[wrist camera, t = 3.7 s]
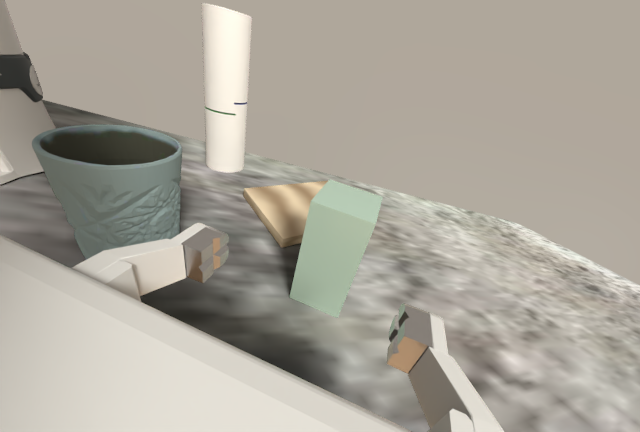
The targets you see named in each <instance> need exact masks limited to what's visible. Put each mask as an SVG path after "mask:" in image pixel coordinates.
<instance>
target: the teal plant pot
mask: <svg viewBox="0 0 640 432" xmlns="http://www.w3.org/2000/svg"><path fill="white" fill-rule="evenodd" d="M32 148H33V150H34V152H35V154H36V156H37V158H38V160H39V162H40V164H41V166H42V168H43V170H44V172H45V174H46V176H47V178H48V181H49V183H50V185H51V187H52V189H53V192H54V194H55V196H56V197H57V199H58V200H59V201H60V203H61V204H62V207H63V209H64V211H65V212H66V216H67V221H68V222H69V223H70V224H71V226H72V227H73V228H74V229H75V232H74V236H75V239H76V241H77V243H78V245H79V247H80V249H81V251H82V253H83V256H84V258H85V259H86V260H87V259H89V258H91V257H93V256H94V255H96V254H98V253H100V252H102V251H104V250H110V249H115V248H120V247H125V246H131V245H136V244H141V243H146V242H152V241H157V240H162V239H172V238H174V237H175V236H177V235H178V234H180V226H179V223H180V192H181V189H180V187H179V182H180V180H181V176H180V173H181V162H182V147H181V145H180V144H179V142H178V141H177V140H175V139H174V138H172V137H170V136H168V135H165V134H162V133H160V132H156V131H153V130H149V129H144V128H138V127H132V126H124V125H105V124H99V125H75V126H67V127H60V128H56V129H52V130H48V131H46V132H43V133H41V134H39V135H37V136H36V137H35V138H34V139H33V140H32Z"/></svg>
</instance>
